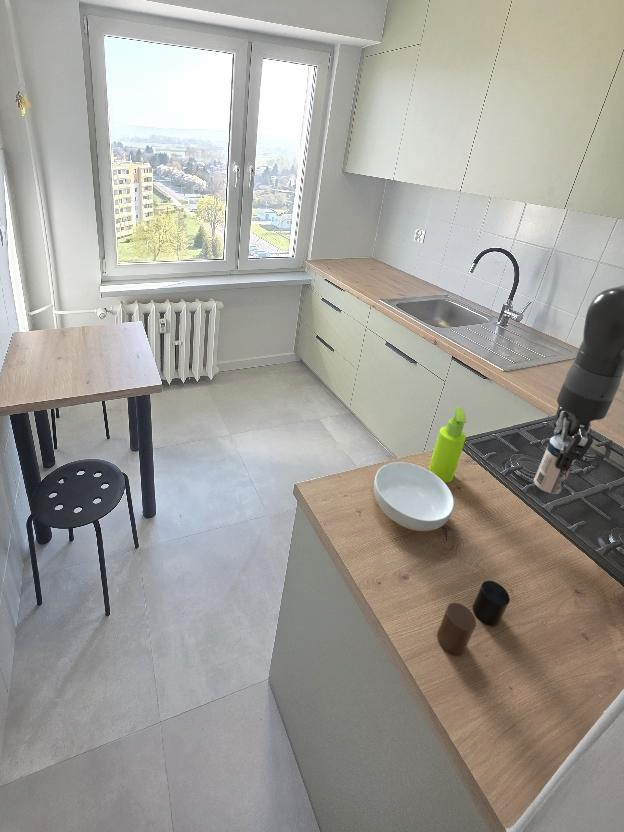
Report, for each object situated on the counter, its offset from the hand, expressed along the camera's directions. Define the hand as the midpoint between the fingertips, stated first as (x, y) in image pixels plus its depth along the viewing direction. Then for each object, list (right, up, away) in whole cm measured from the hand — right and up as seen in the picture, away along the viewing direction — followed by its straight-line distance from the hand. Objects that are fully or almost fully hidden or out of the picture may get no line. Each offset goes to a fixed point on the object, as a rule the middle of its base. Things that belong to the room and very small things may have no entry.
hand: (558, 459), depth 84 cm
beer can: (0, -7, +3) cm, 8 cm away
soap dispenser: (-13, -12, +23) cm, 29 cm away
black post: (-19, -26, -8) cm, 33 cm away
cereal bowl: (-26, -16, +13) cm, 33 cm away
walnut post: (-28, -27, -13) cm, 41 cm away
